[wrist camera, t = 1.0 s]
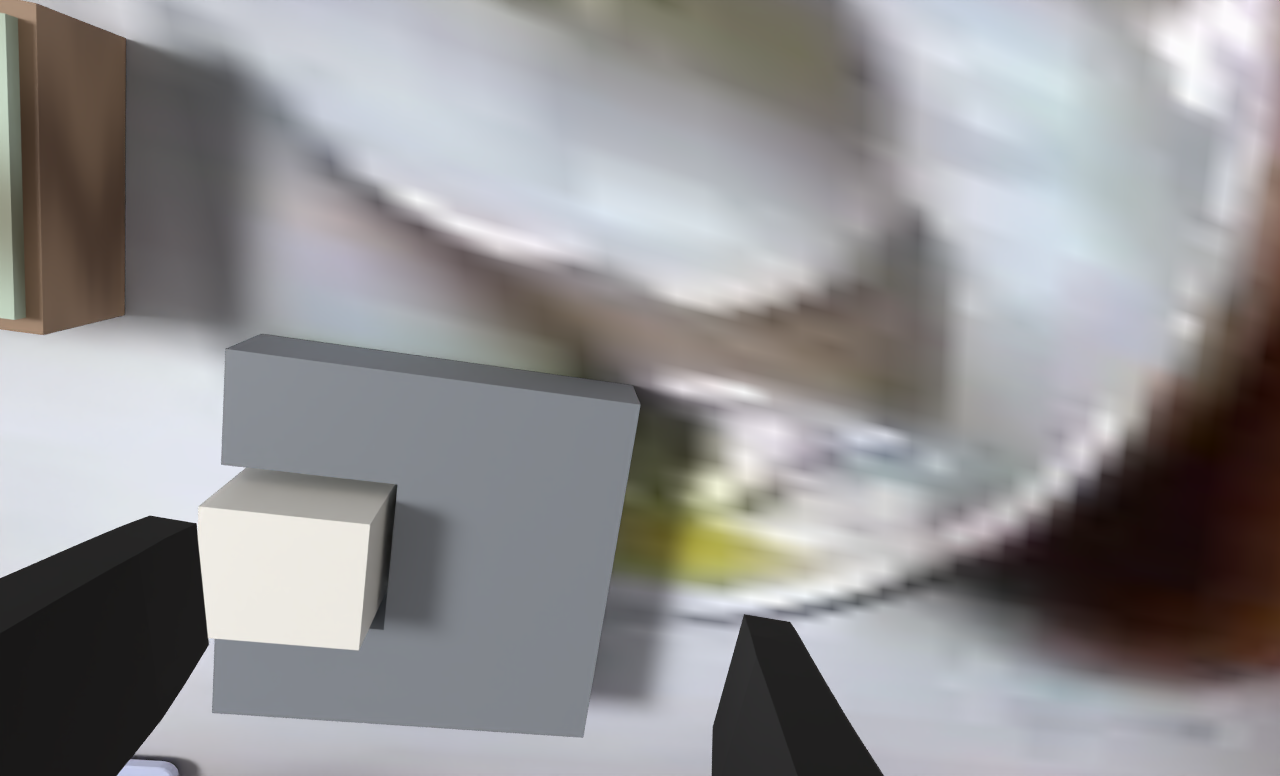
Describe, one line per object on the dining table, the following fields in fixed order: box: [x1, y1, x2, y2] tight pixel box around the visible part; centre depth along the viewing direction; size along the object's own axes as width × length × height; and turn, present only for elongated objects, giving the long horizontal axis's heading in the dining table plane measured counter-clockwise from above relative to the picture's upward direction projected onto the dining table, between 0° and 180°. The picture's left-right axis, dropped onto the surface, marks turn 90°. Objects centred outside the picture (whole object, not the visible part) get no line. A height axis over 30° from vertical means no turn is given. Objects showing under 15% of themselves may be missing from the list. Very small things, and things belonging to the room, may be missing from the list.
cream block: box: [198, 467, 398, 650], centre depth 22 cm, size 4×4×4 cm
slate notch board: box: [212, 334, 640, 738], centre depth 24 cm, size 12×12×2 cm
